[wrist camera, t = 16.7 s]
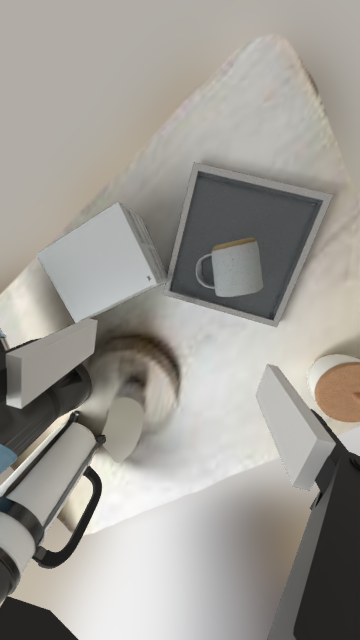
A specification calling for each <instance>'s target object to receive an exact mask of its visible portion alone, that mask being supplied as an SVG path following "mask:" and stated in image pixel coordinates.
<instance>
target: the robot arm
mask: <svg viewBox="0 0 360 640" xmlns="http://www.w3.org/2000/svg"><path fill="white" fill-rule="evenodd" d="M97 322H98V320H94V319H90V318H87V319H85V320H83V321H80V322H78V323H76V324H73V325H71V326H69V327H66V328H64V329H62V330H60V331H57V332H55V333H53V334H50V335H48V336H46V337H44V338H40V339H35V340H30V341H28V342H26V343H23V344H21V345H18V346H16V348H15V347H14V348H11V349H10V348H9V345H8V343H7V340H6V335H5V334H3V332H2V330H1V328H0V474H1V473H2V472H3V471H4V470H6V469H7V468H8V467H9V466H10V465H11V464H13V463H14V462H16V460H17V459H18V457H19V456H20V455H21V454H22V453H23V452H24V451H25V450H26V449H27V448H28V447H29V446H30V445H31V444H32V443H33V442H34V441H35V440H36V439H37V438H38V437H39V436H40V435H41V434H42V433H43V432H44V431H45V430H46V429H47V428H48V427H49V426H50V425H51V424H52V423H53V422H54V421H55V420H56V419H57V418H59V417H60V416H62V415H64V414H66V413H68V412H69V411H71V410H74V409H76V408H78V407H79V406H80V405H81V404H82V403H83V402H84V401H85V400H86V399H87V398H88V396H89V394H90V391H91V380H90V377H89V374H88V372H87V370H86V369H85V367H84V366H83V365H82V364H81V362H82V361H84V360H85V359H86V358H88V357H89V356H90V355H91V354H93V353H94V348H95V339H96V331H97ZM255 396H256V398H257V401H258V403H259V406H260V408H261V411H262V413H263V416H264V418H265V420H266V423H267V425H268V428H269V430H270V433H271V435H272V438H273V440H274V442H275V445H276V447H277V450H278V452H279V455H280V457H281V460H282V462H283V464H284V467H285V469H286V472H287V474H288V476H289V479H290V482H291V484H292V486H294V487H297V488H300V489H304V490H308V491H310V489H311V487H312V486H313V484H314V482H315V481H316V483H317V485H318V487H319V489H320V492H319V494H318V495H317V497H316V498H315V500H314V502H313V504H312V505H311V507H310V509H311V510H312V512H311V514H310V517H309V520H308V523H307V526H306V529H305V532H304V535H303V537H302V540H301V543H300V546H299V549H298V552H297V555H296V557H295V561H294V564H293V566H292V569H291V572H290V575H289V578H288V580H287V583H286V586H285V589H284V592H283V595H282V598H281V601H280V603H279V606H278V609H277V612H276V615H275V618H274V621H273V624H272V626H271V630H270V632H269V635H268V638H267V640H360V456H358V455H356V454H354V453H351V452H349V451H348V450H347V449H346V448H345V446H344V445H343V444H342V443H341V441H340V440H339V439H338V438H337V436H336V435H335V434H334V433H333V432H332V430H331V429H330V428H329V426H327V424H326V422H325V421H324V420H323V419H322V417H321V416H319V415H318V414H317V413H316V412H315V411H314V410H312V409H309V407H308V406H307V405H306V403H305V402H304V401H303V399H302V398H301V397H300V395H299V394H298V393H297V391H296V390H295V389H294V387H293V386H292V385H291V384H290V382H289V381H288V380H287V378H286V377H285V376H284V374H283V373H282V372H281V370H280V369H279V368H278V367H277V366H273V365H269V364H267V366H266V369H265V372H264V374H263V377H262V379H261V382H260V384H259V387H258V390H257V392H256V395H255ZM0 640H78V639H77V638H76V637H75V636H74V635H73V634H72V633H71V632H70V630H69V629H68V628H66V627H65V625H64V624H63V623H62V622H61V621H60V620H59V619H58V618H57V617H56V616H55V615H54V614H53V613H52V612H51V611H50V610H47V609H44V608H41V607H38V606H35V605H32V604H29V603H26V602H23V601H20V600H17V599H14V598H11V597H8V596H7V597H6V599H5V600H4V602H3V604H2V605H1V607H0Z"/></svg>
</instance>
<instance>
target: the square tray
mask: <svg viewBox="0 0 360 640" xmlns="http://www.w3.org/2000/svg"><path fill="white" fill-rule="evenodd" d="M332 197H333V195H332V194H328V193H324V192H319V191H315V190H311V189H307V188H302V187H298V186H294V185H290V184H285V183H281V182H277V181H272V180H268V179H264V178H260V177H255V176H251V175H247V174H242V173H238V172H234V171H230V170H225V169H221V168H217V167H213V166H208V165H204V164H200V163H195V162H194V163H193V168H192V172H191V176H190V181H189V185H188V189H187V193H186V198H185V202H184V206H183V210H182V215H181V219H180V223H179V227H178V232H177V236H176V240H175V245H174V249H173V253H172V257H171V262H170V266H169V270H168V274H167V280H168V281H167V282H166V283H165V287H164V291H163V295H166V296H169V297H173V298H176V299H180V300H183V301H187V302H190V303H194V304H197V305H201V306H204V307H208V308H211V309H214V310H218V311H221V312H225V313H228V314H232V315H235V316H239V317H242V318H246V319H249V320H253V321H256V322H260V323H263V324H267V325H270V326H274V327H277V326H278V323H279V321H280V319H281V316H282V314H283V312H284V309H285V307H286V304H287V302H288V300H289V297H290V295H291V293H292V290H293V288H294V286H295V283H296V281H297V279H298V276H299V274H300V272H301V269H302V267H303V265H304V262H305V260H306V258H307V255H308V253H309V251H310V248H311V246H312V244H313V241H314V239H315V237H316V234H317V232H318V230H319V227H320V225H321V222H322V220H323V218H324V215H325V213H326V211H327V208H328V206H329V204H330V201H331V199H332ZM251 237H252V238H255V239H256V241H257V244H258V248H259V255H260V264H261V271H262V280H263V288H262V289H261V290H259V291H257V292H255V293H251V294H246V295H241V296H232V297H221V296H217V295H216V293H215V289H212V288H207V287H205V286H203V285H202V284H201V283H200V282H199V281H198V279H197V277H196V265H197V262H198V261H199V259H200V258H201V257H203V256H205V255H207V254H211V253H212V249H213V247H214V246H216V245H219V244H223V243H228V242H232V241H236V240H241V239H246V238H251ZM202 266H203V267H202V276H203V279H204V281H205V282H207V283H208V284H211V285H215V284H214V274H213V266H212V256H209V257H208V258H206V259H205V260H204V261H203V262H202Z"/></svg>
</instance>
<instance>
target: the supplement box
mask: <svg viewBox="0 0 360 640" xmlns="http://www.w3.org/2000/svg"><path fill="white" fill-rule="evenodd" d="M36 255H37V257H38V259H39V261H40V263H41V264H42V266H43V268H44V270H45V271H46V273H47V275H48V276H49V278H50V280H51V282H52V283H53V285H54V287H55V289H56V290H57V292H58V294H59V295H60V297H61V299H62V301H63V302H64V304H65V306H66V308H67V309H68V311H69V313H70V315H71V316H72V318H73V320H74V322H75V323H78V322H80V321H83V320H85V319H87V318H91V317H94V316H96V315H98V314H101V313H103V312H105V311H107V310H109V309H111V308H114V307H116V306H118V305H120V304H122V303H124V302H126V301H128V300H130V299H132V298H134V297H136V296H138V295H140V294H143V293H145V292H147V291H149V290H151V289H153V288H155V287H157V286H159V285H161V284H163V283H165V282H167V281H168V280H167V273H166V271H165V268H164V266H163V264H162V262H161V260H160V257H159V255H158V253H157V251H156V249H155V246H154V244H153V242H152V240H151V238H150V236H149V233H148V231H147V229H146V227H145V225H144V222H143V220H142V218H141V217H140V216H138V215H137V214H136V213H134V212H133V211H131V210H130V209H128V208H127V207H125V206H124V205H122V204H121V203H119V202H117V203H115V204H114V205H112V206H110V207H109V208H107V209H106V210H104V211H102V212H101V213H99V214H98V215H96V216H95V217H93V218H92V219H90V220H88V221H87V222H85V223H84V224H82V225H81V226H79V227H77V228H76V229H74V230H73V231H71V232H70V233H68V234H67V235H65V236H64V237H62V238H60V239H59V240H57V241H56V242H54V243H52V244H51V245H49V246H48V247H46V248H45V249H43V250H42V251H40V252H39V253H37V254H36Z"/></svg>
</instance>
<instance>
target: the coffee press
mask: <svg viewBox="0 0 360 640" xmlns="http://www.w3.org/2000/svg"><path fill="white" fill-rule="evenodd" d="M78 417H79V413H78V412H72V413H71V415H70V418H69V420H68V422H67V423H64V424H61V425H59V426H58V427H57V428H56V429H55V430H54V431H53V432H52V433H51V434H50V435H49V436H48V437H47V438H46V439H45V440H44V441H43V442H42V443H41V444H40V445H39V446H38V448H37V449H36V450H35V451H34V452H33V453H32V454H31V455H30V456H29V457H28V458H27V459H26V460H25V461H24V462H23V463H22V464H21V465H20V466H19V467H18V468H17V469H16V471H15V472H14V473H13V474H12V475H11V476H10V477H9V478H8V479H7V480H6V481H5V482H4V483H3V484H2V485H1V486H0V603H1V602H2V601H3V600H4V599H5V598H6V597H7V596H8V595H10V594H12V593H13V592H14V590H15V589H16V587H17V585H18V584H19V582H20V578H21V574H22V573H23V571H24V569H25V568H26V566H27V564H28V563H29V561H30V559H31V558H32V559H34V560H35V561H36V562H37V563H39V564H38V565H39V566H41V567H42V568H47V569H52V568H55V567H57V566H59V565H60V564H62V563H63V562H65V561H66V560H67V559H68V558H69V557H70V556H71V554H72V553H73V552H74V550H75V549H76V547H77V545H78V543H79V541H80V539H81V538H82V536H83V534H84V532H85V530H86V528H87V525H88V523H89V521H90V519H91V517H92V515H93V513H94V511H95V509H96V506H97V504H98V502H99V499H100V496H101V492H102V483H101V479H100V477H99V476H98V474H97V473H96V472H95V471H94V470H93V469H92V468H91V467H90V466H89V465H90V463H91V461H92V458H93V457H94V455H95V453H96V449H97V448H98V447H99V446H100V445H102V444H103V443H105V441H106V438H105V435H101V436H99V437H96V438H95V437H94V435H93V434H92V432H91V431H90V430H89V429H88V428H86V427H85V426H83V425H81V424H78V423H77V421H78ZM98 441H99V442H98ZM96 442H97V443H96ZM82 475H84V476H86V477H87V478H88V479H89V480H90V481H91V482H92V485H93V494H92V497H91V499H90V501H89V503H88V505H87V507H86V509H85V511H84V513H83V515H82V517H81V519H80V521H79V523H78V525H77V527H76V529H75V531H74V532H73V534H72V536H71V538H70V540H69V542H68V543H67V545H66V546H65V547H64V548H63V549H62V550H61V551H59V552H56V553H55V552H51V551H49V550H46V549H45V548H43V547H42V546H41V544H42V543H43V540H44V536H45V535H46V533H47V532H48V530H49V528H50V527H51V525H52V523H53V522H54V520H55V519H56V517H57V515H58V514H59V512H60V511H61V509H62V507H63V506H64V504H65V502H66V501H67V499H68V497H69V496H70V494H71V493H72V491H73V489H74V488H75V486H76V484H77V483H78V481H79V480H80V478H81V476H82Z"/></svg>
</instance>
